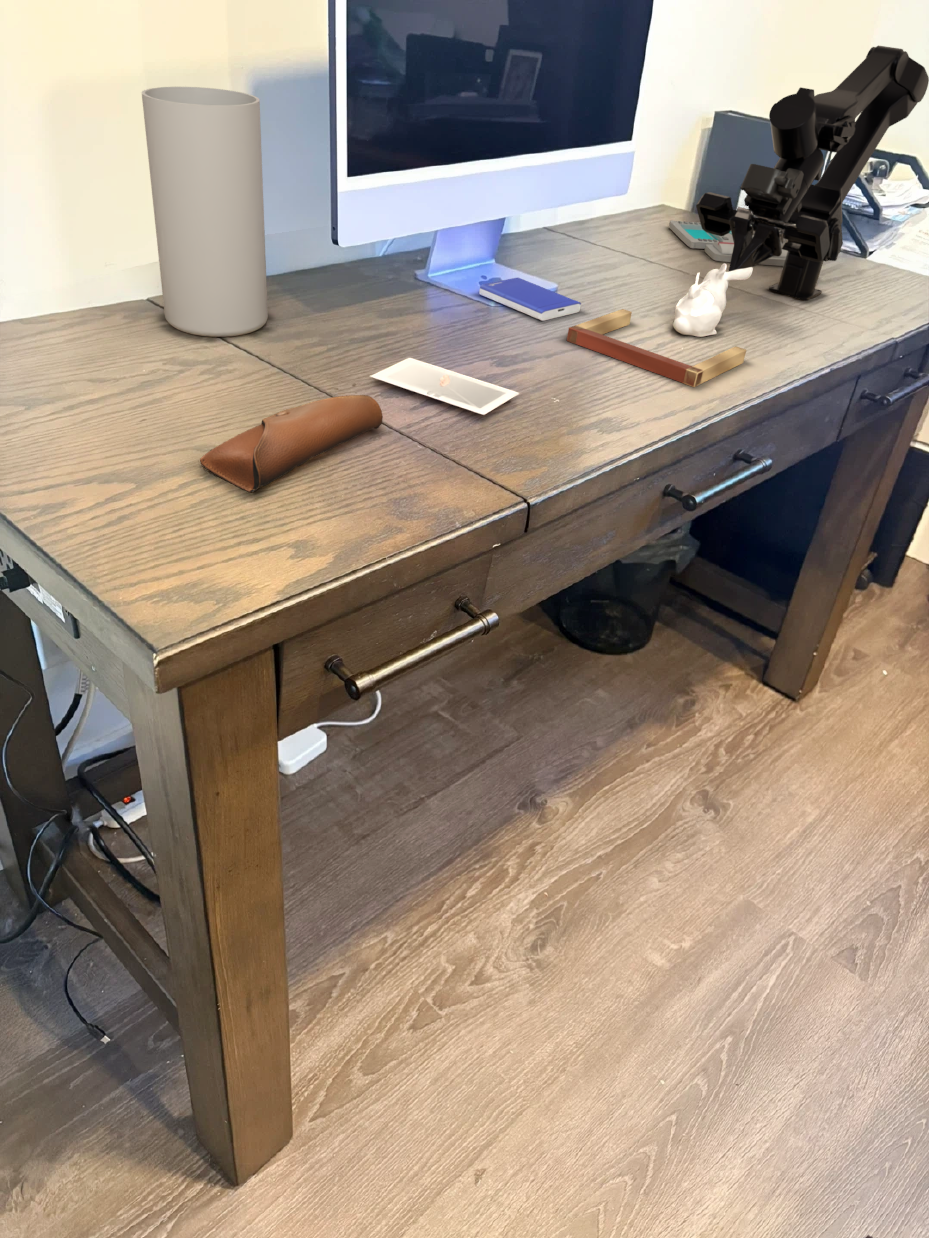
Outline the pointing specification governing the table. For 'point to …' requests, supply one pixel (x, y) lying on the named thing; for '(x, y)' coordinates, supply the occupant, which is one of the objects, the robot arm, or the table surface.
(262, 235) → the cylinder vase
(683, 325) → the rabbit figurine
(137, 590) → the table surface
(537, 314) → the hard drive
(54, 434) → the table surface
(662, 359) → the bay
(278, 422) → the sunglasses case
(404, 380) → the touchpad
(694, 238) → the office telephone
